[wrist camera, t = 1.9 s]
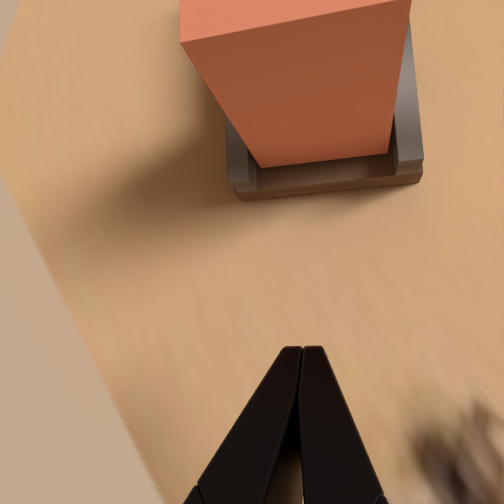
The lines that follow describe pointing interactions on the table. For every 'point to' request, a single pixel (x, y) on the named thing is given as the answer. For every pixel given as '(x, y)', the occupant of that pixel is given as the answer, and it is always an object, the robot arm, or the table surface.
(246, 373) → the table surface
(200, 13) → the pink upright rectangular block
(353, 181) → the rail housing
